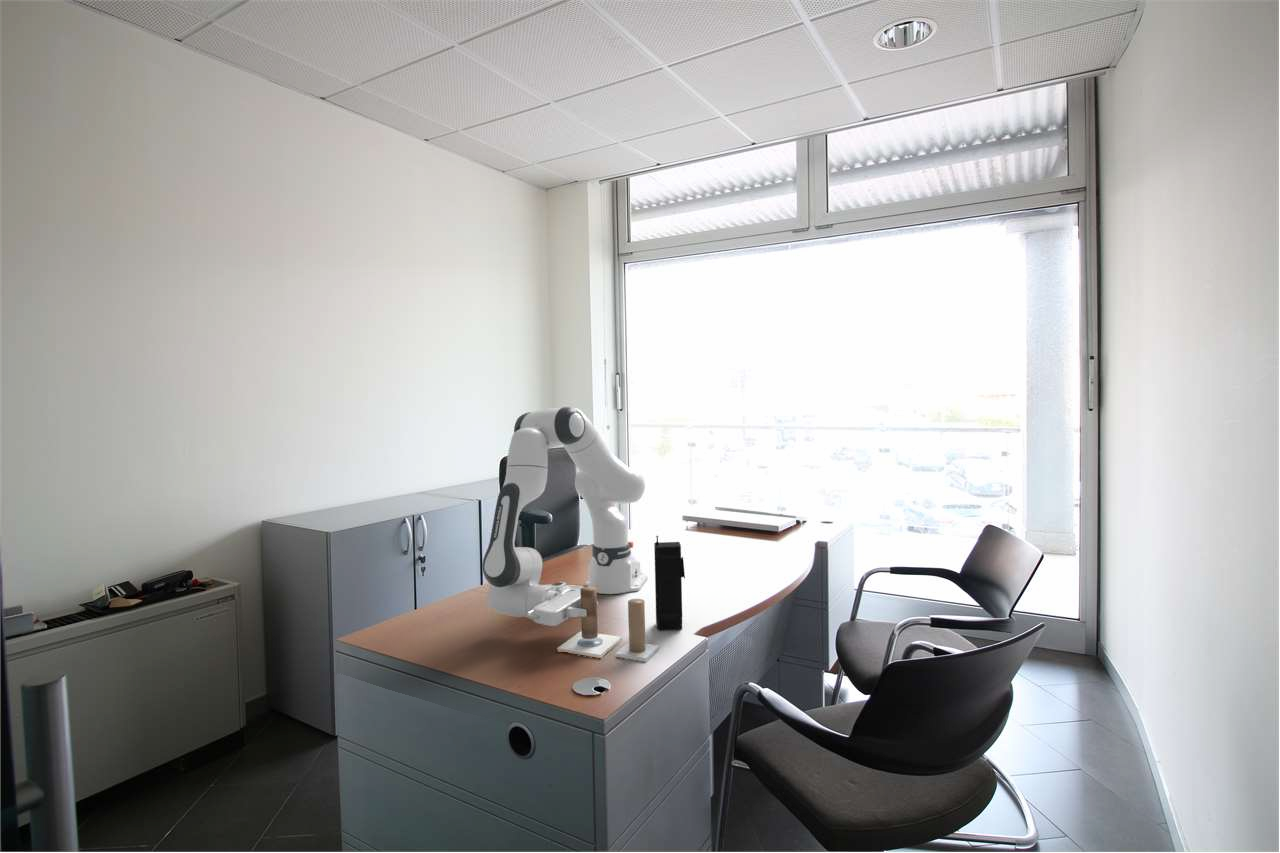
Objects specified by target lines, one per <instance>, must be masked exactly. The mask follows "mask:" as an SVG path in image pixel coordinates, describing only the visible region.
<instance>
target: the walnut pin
mask: <svg viewBox="0 0 1280 853" xmlns="http://www.w3.org/2000/svg"><path fill="white" fill-rule="evenodd" d="M582 587H583V588H581V589H580V594H581V608H582V607H583V608H588V615H587V616H585V617H582V616H580V620H581V626H580V628H581V631H582V638H584V639H593V638H596V637H597V636H598V634H599V633H598V608H597V602H598V600H597V596H598V595H597V594H598V593H597V592H596V588H595V587H588V586H582Z"/></svg>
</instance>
